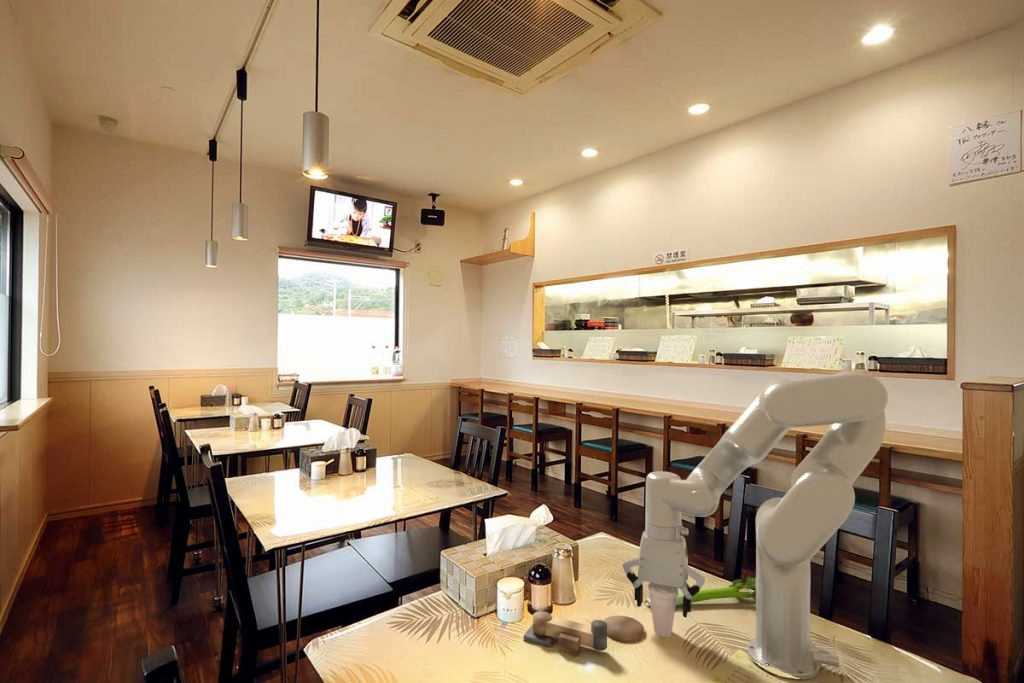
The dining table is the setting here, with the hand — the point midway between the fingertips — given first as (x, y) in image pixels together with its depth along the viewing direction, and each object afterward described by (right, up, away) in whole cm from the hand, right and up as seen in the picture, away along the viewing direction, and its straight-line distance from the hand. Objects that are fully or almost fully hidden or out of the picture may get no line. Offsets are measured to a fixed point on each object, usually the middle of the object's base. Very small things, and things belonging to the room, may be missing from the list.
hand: (662, 609), depth 111 cm
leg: (-21, -3, -5) cm, 22 cm away
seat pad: (-8, -5, +1) cm, 10 cm away
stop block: (-21, -5, -7) cm, 23 cm away
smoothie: (0, -5, 0) cm, 5 cm away
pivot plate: (-26, -5, -2) cm, 27 cm away
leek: (+14, -6, +12) cm, 20 cm away
